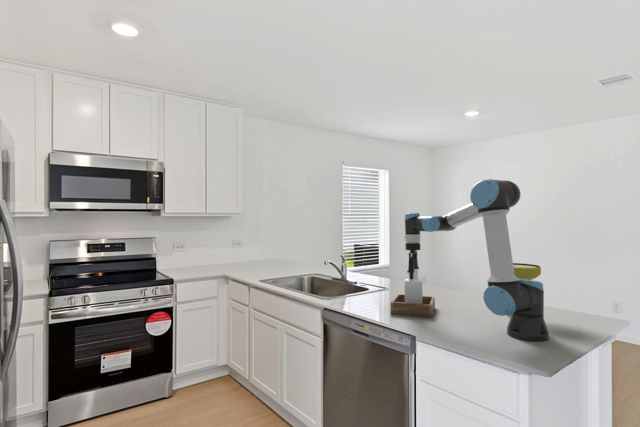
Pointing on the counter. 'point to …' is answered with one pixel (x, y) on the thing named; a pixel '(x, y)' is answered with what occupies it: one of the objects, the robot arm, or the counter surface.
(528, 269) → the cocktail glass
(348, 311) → the counter surface
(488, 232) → the robot arm
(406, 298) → the supplement box
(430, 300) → the walnut box
